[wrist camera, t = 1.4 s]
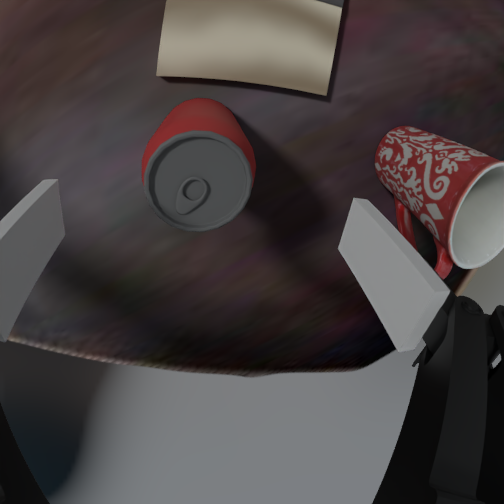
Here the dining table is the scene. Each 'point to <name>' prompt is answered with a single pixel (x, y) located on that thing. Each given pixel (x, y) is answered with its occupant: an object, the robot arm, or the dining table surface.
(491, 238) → the mug
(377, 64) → the dining table surface
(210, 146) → the beer can
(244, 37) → the beige green bent panel
